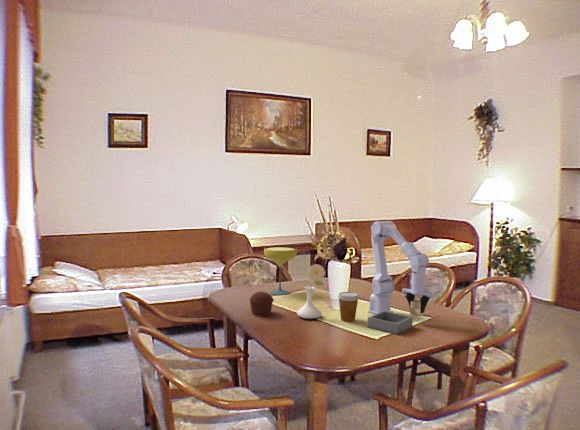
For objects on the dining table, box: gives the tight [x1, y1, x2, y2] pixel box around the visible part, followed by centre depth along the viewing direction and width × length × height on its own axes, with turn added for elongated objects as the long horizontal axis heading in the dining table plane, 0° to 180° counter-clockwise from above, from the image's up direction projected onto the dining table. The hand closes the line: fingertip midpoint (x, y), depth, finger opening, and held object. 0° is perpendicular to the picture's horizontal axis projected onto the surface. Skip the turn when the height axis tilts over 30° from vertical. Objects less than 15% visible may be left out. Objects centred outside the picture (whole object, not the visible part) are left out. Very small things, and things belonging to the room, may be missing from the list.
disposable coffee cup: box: [337, 291, 360, 323], centre depth 218 cm, size 10×10×12 cm
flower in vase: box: [296, 263, 326, 319], centre depth 221 cm, size 13×11×25 cm
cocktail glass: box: [263, 245, 298, 296], centre depth 266 cm, size 18×18×25 cm
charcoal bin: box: [367, 311, 414, 336], centre depth 208 cm, size 14×14×4 cm
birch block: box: [409, 299, 425, 318], centre depth 213 cm, size 4×4×6 cm
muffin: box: [249, 291, 274, 317], centre depth 227 cm, size 12×11×10 cm
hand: (417, 311), depth 214 cm, fingers closed on birch block, 4 cm apart
